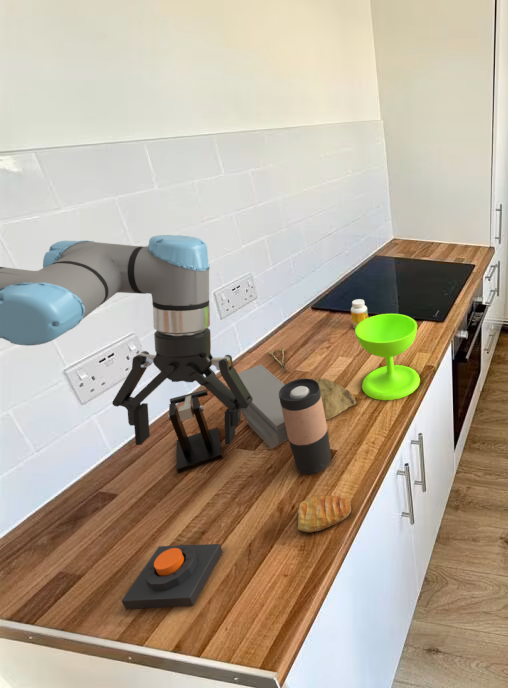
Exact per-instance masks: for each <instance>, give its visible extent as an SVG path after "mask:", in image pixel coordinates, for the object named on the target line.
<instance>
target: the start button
mask: <svg viewBox="0 0 508 688" xmlns="http://www.w3.org/2000/svg"><path fill="white" fill-rule="evenodd" d="M183 563H184V556H183V554H182V552H181V550H180V549H178V548H171V549H168V550H166V551H164V552H163V553H161V554H160V555H159V556H158V557H157V558H156V560H155V562H154V567H155V569H156V571H157V573H158V575H160V576H168V575H170V574H173V573H174V572H176V571H177V570H178V569H179V568H180V567H181V566H182V565H183Z"/></svg>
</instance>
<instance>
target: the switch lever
mask: <svg viewBox="0 0 508 688" xmlns="http://www.w3.org/2000/svg"><path fill="white" fill-rule="evenodd" d="M208 394H209V393H208V389H202V390H199V391H194V392H191V393H187V394H183V395H179V396H176V397H172V398H169V404H172V403H175V404H176V405H177V404H180V403H183V405H181V406H179V407H178V408H177V409H178V413H179V417H180V420H181V421H182V422H185V421H188V420H192V419H195V414H194V411H193V403H192V398H194V397H198V399H200V398H203V397H206V396H208Z"/></svg>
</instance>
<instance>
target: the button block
mask: <svg viewBox="0 0 508 688" xmlns="http://www.w3.org/2000/svg"><path fill="white" fill-rule="evenodd" d="M171 548H178V549H180V550H181V552H182V554H183V556H184V563H183V565H182V566H181V567H180V568H179V569H178V570H177V571H176V572H174V573H173V574H170V575H168V576H160V575H158V573H157V571H156V569H155V567H154V562H155V560H156V558H157V557H158V556H159V555H160V554H161V553H163V552H164V551H166V550H168V549H171ZM223 552H224V551H223V548H222V545H221V544H220V543H210V544H209V543H208V544H207V543H206V544H177V545H161V546H160V545H159V546H157V549H156V550H155V551H154V553H153V554H152V556H151V557H150V559H149V560H148V561H147V563H146V564H145V566H144V567H143V568H142V570H141V571H140V573H139V574H138V576H137V577H136V579H135V580H134V581H133V582H132V584H131V586H130V587H129V589H128V590H127V592H126V594H125V595H124V596H123V598H122V599H121V603H122V605H123V607H124V608H125V610H136V609H155V608H174V607H175V608H176V607H193V606H195V603H196V602H197V600H198V598H199V597H200V595H201V592H202V591H203V589H204V587H205V585H206V584H207V582H208V580H209V578H210V576H211V574H212V572H213V571H214V569H215V567H216V565H217V563H218V561H219V560H220V558H221V556H222V554H223Z"/></svg>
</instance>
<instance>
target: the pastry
mask: <svg viewBox="0 0 508 688" xmlns="http://www.w3.org/2000/svg"><path fill="white" fill-rule="evenodd" d="M297 511H298V512H297V513H298V516H297V518H298V519H297V525H298V526H297V529H298V531H300V532H305V533H313V532H319V531H322V530H325V529H327V528H330V527H332V526H335V525H337V524H339V523H340V522H342V521H344V519H346V518H347V517H348V516H350V514H351V512H352V506H351V500H350V499H347V497H342V496H340V495H335V496H334V495H332V494H329V495H325V494H324V495H323V494H321V495H319V496H318V497H317V496H310V497H309V498H308V499H307V500H304V501H301V502H300V503H299V506H298V510H297Z"/></svg>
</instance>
